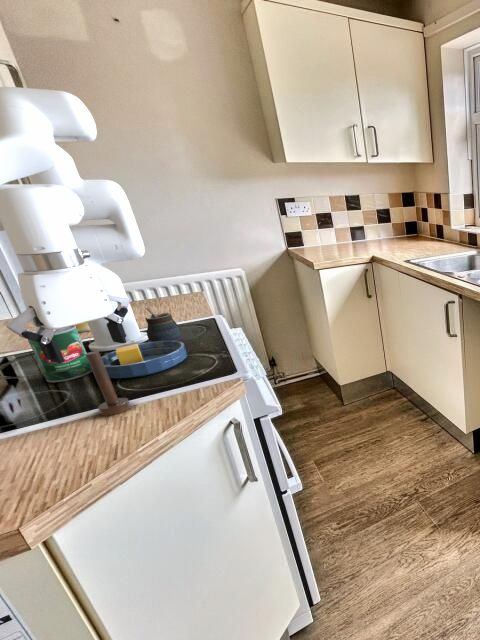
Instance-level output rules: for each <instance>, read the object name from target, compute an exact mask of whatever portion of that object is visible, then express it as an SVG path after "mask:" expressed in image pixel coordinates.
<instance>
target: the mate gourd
mask: <svg viewBox="0 0 480 640" xmlns="http://www.w3.org/2000/svg"><path fill="white" fill-rule="evenodd" d="M145 310H146V311H148V312H149V313H150V315H148V316H146V317H145V319H144V320H145V322H146V324H147V330H146V333H147V337H148V341H149V342H155V341H166V340H174V341H180V339H181V335H182V333H181V332H182V330H181V327H180V325H179V324H177V322H176V321H175V320H174V319H173V316H172V313H170V312H161V313H156V314H155V313H154V312H153V311H152V310H151V309H150V308H149V307H145Z"/></svg>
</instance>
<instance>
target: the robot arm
mask: <svg viewBox="0 0 480 640" xmlns="http://www.w3.org/2000/svg"><path fill="white" fill-rule="evenodd" d="M97 130H98V129H97V125H96V122H95V119H94V117H93V115H92V112H90V110H89V109H88V107H87V106H86V104H85V103H84V102H83V101H82V100H81V99H80V98H79V97H78V96H76V95H74V94H72V93H70V92H68V91H64V90H57V89H47V88H46V89H43V88H33V87H31V88H30V87H21V86H20V87H18V86H0V232H3V231H4V232H5V234H6V236H7V238H8V241H9V242H10V245H11V247H12V249H13V251H14V254H15V256H16V258H17V260H18V262H19V265H20V266H21V269H22V271H23V272H19V273H17V281H18V286H19V287H18V288H19V290H20V295H21V297H22V301H23V304H24V307H25V310H24V311H22V312H21V313H20V314H18V315H17V316H15V317H14V318H11V320H10V321H8V322H6V323H5V327H6V328H7V329H8V330H10V331H12V332H13V333H14V334H16V335H17V336H19V337H20V338H23V339H25V340H28V339H29V340H32V341H35V342H38V343H39V345H40V347H41V350H42V352H43V354H44V356H45V358H46V359H47V360H51V361H52V362H56V363H63V362H64V361H65V360H64V358H63V355H62V353H61V351H60V349H59V347H58V344H57V343H56V342H54V341H52V338H53V336H54V334H55V332H56V330H57V329H62V328H66V327H70V326H74V325H78V324H82V323H86V322H87V323H88V326H89V328H90V331H89V332H90V334H91V335H92V337H93V340H94V341H92V342H91V343H89V344H88V348H89V351H90V352H94V351H98V352H112V351H116V348H119V347H124V346H129V345H134V344H142V343H146V341H149V339H148V337H147V332H145V331H141V330H140V328H139V325H138V322H137V320H136V317H135V314H134V311H133V308H132V306H131V304H130V300H131V299H130V298H129V297H128V295H127V293H126V290H125V287H124V284H123V281H122V280H121V278H120V276H119V275H117V274H116V273H115V272H113V271H112V270H110V269H109V268H107V267H106V266H104V265H102V264H107V263H115V262H126V261H134V260H138V259H141V258H143V257H144V256H145V254H146V253H145V252H146V247H145V244H144V241H143V238H142V235H141V232H140V229H139V226H138V223H137V221H136V217H135V215H134V212H133V209H132V207H131V204H130V201H129V199H128V196H127V194H126V192H125V190H124V189H123V188H122V187H121V185H120V184H119V183H117V182H115V181H113V180H110V179H83V178H81V176H80V174H79V171H78V169H77V166H76V164H75V161H74V159H73V157H72V156H71V155H70V154H69V152H67V151H66V150H65V149H63V148H62V147H61V146H60V145H58V144H56V142H64V143H65V142H66V143H91V142H94V141H95V140H96V138H97V136H98V131H97ZM27 177H28V178H29V180H30V184H29V183H27V184H26V183H19V184H18V183H15V184H12V183H11V184H10V183H9V182H12V181H16V180H19V179H23V178H27ZM7 183H9V184H7ZM97 220H99V221H100V220H108V221H111V222H112V223H108V224H107V223H106V224H87V225H86V224H85V225H78V224H79V223H80V222H83V221H97ZM29 322H31V323H32V325H34V327H36V328H37V329H36V330H37V331H36V333H33V332H32V331H30V330H29V329H27V328H26V327H25V325H27V324H28V323H29Z"/></svg>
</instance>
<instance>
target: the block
mask: <svg viewBox="0 0 480 640" xmlns="http://www.w3.org/2000/svg"><path fill="white" fill-rule="evenodd" d="M115 351H116V354H117V357H118V359H119V362H120V364H121V365H127V364H134V363H139V362H143V358H142V355H141V352H140V350H139V347H138V344H134V345H129V346H124V347H119V348H116V350H115Z"/></svg>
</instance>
